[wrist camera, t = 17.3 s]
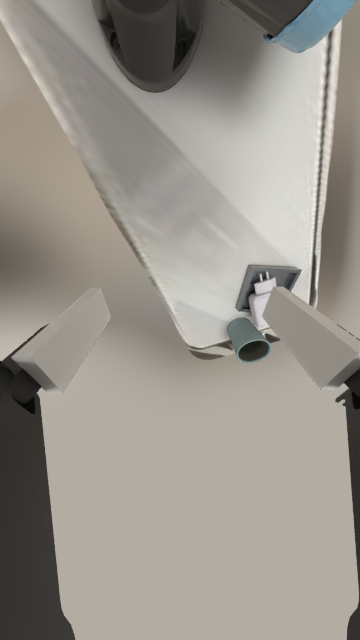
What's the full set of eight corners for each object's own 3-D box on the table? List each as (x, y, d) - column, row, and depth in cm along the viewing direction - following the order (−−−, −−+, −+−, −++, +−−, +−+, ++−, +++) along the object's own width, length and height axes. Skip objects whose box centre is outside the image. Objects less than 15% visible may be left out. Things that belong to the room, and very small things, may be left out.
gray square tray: (248, 264, 41) (252, 267, 39) (295, 267, 42) (301, 270, 40) (235, 307, 49) (238, 311, 47) (275, 308, 50) (279, 312, 48)
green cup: (230, 315, 51) (243, 338, 41) (258, 317, 51) (278, 341, 42) (222, 337, 57) (232, 362, 47) (248, 338, 57) (263, 364, 47)
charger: (275, 266, 42) (281, 313, 47) (243, 277, 43) (252, 322, 48) (287, 267, 37) (291, 318, 43) (250, 280, 39) (259, 328, 44)
